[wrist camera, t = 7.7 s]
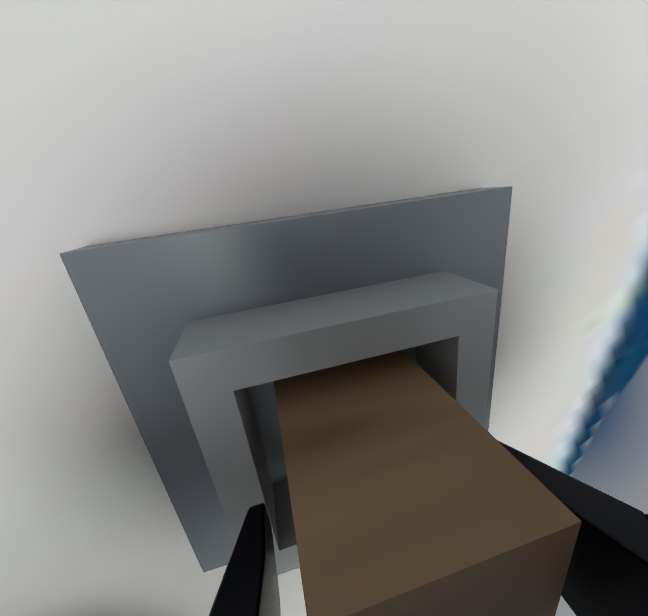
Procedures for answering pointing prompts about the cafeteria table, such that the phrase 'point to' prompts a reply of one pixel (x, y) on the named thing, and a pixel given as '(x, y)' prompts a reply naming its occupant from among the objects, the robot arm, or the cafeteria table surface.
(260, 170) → the cafeteria table surface
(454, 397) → the socket block
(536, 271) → the cafeteria table surface
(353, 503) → the walnut peg
